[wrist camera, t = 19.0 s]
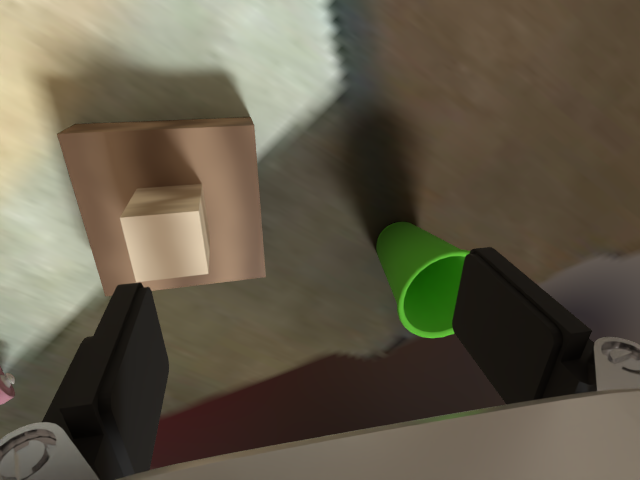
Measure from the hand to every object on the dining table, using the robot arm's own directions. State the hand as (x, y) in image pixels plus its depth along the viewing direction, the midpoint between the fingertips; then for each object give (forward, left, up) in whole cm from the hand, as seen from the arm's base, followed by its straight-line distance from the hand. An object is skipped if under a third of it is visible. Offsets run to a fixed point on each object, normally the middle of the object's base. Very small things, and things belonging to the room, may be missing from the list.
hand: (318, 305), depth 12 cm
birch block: (+7, +6, -23) cm, 24 cm away
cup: (-15, +13, -27) cm, 33 cm away
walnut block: (+7, +6, -27) cm, 28 cm away
